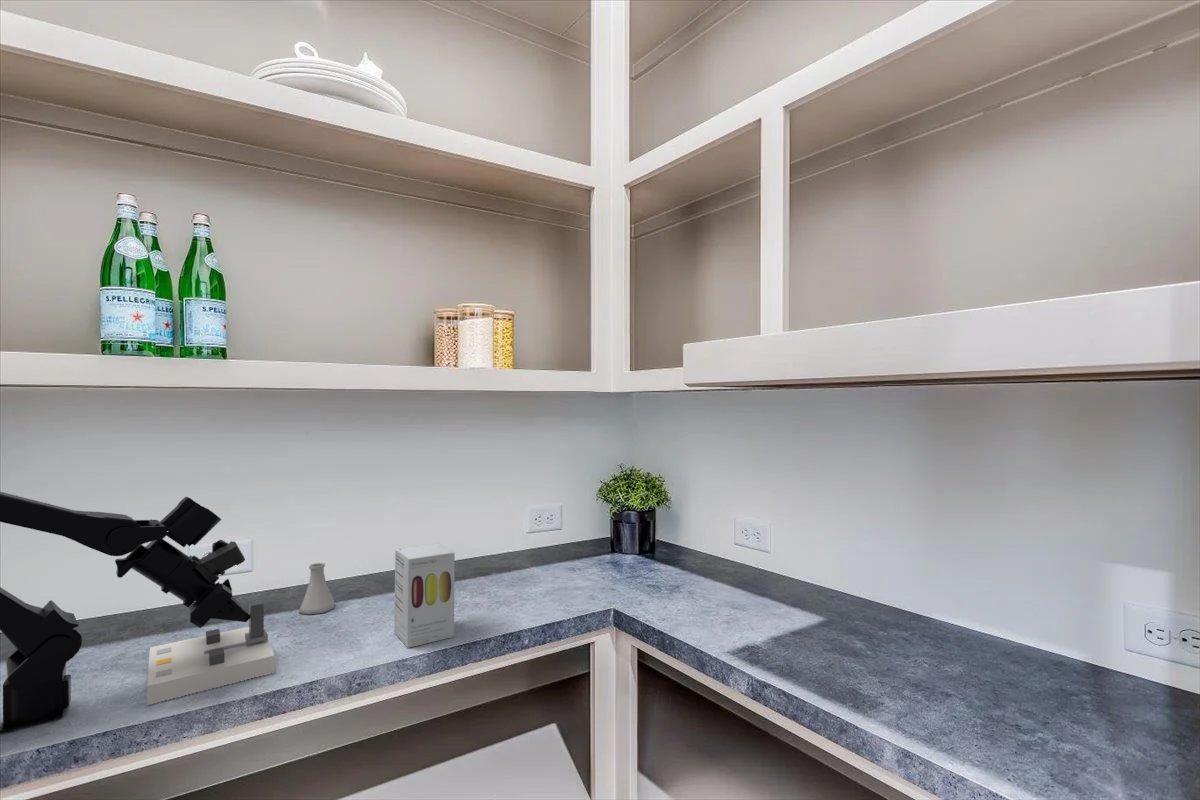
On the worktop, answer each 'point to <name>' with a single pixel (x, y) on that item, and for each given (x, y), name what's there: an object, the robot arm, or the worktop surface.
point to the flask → (317, 592)
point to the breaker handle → (256, 623)
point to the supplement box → (424, 594)
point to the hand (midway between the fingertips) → (248, 619)
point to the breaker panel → (205, 664)
